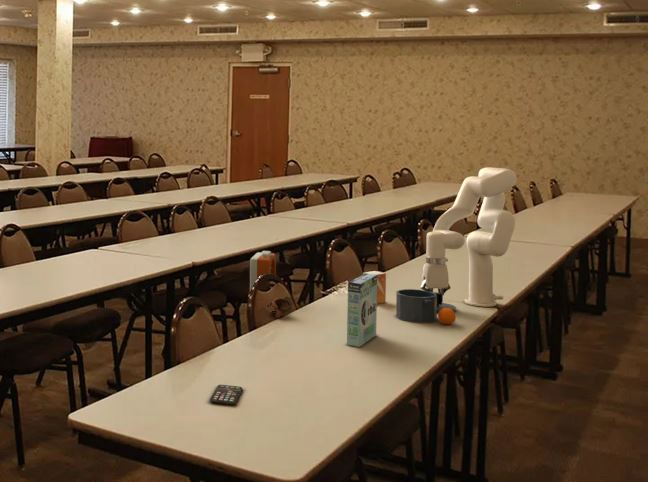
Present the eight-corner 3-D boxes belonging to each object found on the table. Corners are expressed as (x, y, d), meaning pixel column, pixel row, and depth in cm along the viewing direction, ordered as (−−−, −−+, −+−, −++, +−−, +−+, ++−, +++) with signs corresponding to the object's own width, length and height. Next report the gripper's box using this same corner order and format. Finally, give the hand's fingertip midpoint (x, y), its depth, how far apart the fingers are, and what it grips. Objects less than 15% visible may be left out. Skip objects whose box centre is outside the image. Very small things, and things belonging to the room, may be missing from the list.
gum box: (364, 333, 311) (364, 272, 310) (377, 335, 308) (378, 274, 307) (346, 345, 295) (346, 281, 295) (360, 347, 292) (360, 283, 292)
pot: (421, 311, 346) (421, 287, 345) (447, 323, 325) (447, 298, 325) (386, 312, 344) (387, 288, 344) (410, 324, 323) (410, 299, 323)
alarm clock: (269, 301, 363) (269, 254, 363) (249, 299, 366) (249, 253, 366) (275, 292, 380) (276, 248, 380) (256, 291, 383) (257, 247, 383)
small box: (374, 304, 357) (374, 274, 357) (362, 302, 362) (362, 272, 362) (386, 302, 361) (386, 272, 361) (374, 299, 366) (374, 270, 366)
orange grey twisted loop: (291, 314, 342) (295, 299, 337) (286, 329, 334) (290, 314, 330) (263, 304, 345) (266, 290, 341) (258, 319, 337) (261, 304, 333)
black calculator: (242, 386, 248) (234, 403, 234) (242, 389, 248) (234, 405, 234) (218, 384, 250) (209, 400, 236) (218, 386, 250) (209, 402, 236)
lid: (443, 303, 359) (443, 288, 359) (463, 312, 343) (463, 296, 343) (408, 304, 357) (408, 289, 357) (426, 313, 341) (427, 297, 341)
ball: (450, 322, 328) (450, 306, 328) (458, 326, 321) (458, 309, 321) (434, 322, 327) (435, 306, 327) (443, 326, 321) (443, 310, 321)
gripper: (449, 259, 355) (448, 301, 355) (413, 259, 353) (412, 302, 353) (458, 262, 347) (458, 305, 347) (421, 263, 345) (421, 306, 345)
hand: (435, 303), depth 350 cm, fingers closed on lid, 3 cm apart
